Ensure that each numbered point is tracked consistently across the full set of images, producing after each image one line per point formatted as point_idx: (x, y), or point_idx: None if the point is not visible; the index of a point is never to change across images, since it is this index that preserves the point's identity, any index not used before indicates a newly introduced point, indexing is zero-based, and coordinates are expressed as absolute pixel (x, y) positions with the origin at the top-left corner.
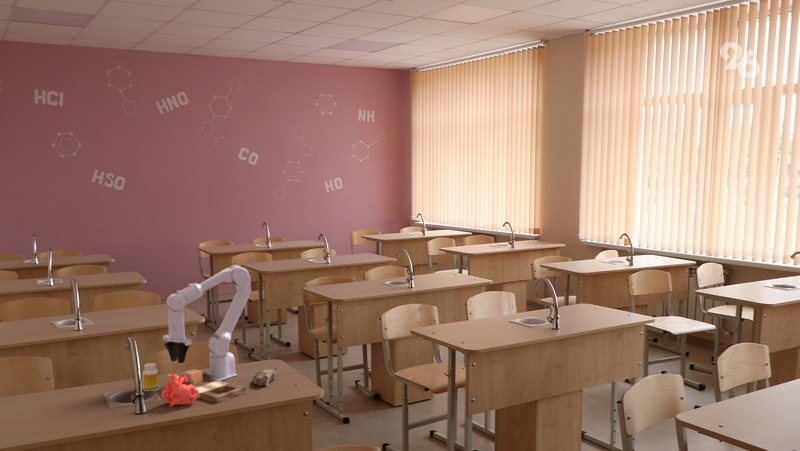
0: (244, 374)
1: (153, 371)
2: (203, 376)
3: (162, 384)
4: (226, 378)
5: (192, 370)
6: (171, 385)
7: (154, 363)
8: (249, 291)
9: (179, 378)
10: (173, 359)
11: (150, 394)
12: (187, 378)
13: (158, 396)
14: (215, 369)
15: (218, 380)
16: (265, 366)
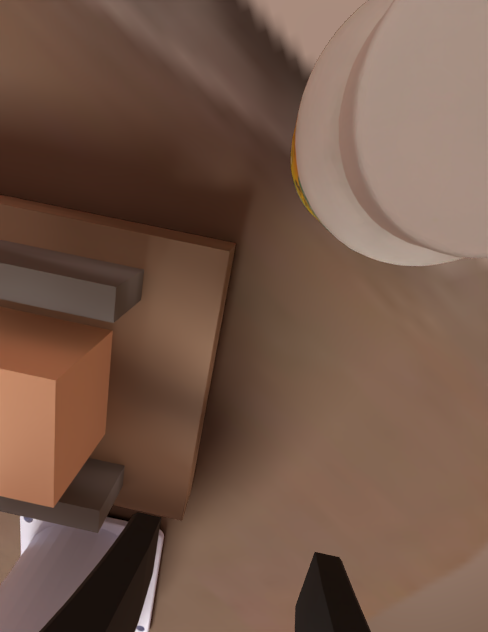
0: None
1: (324, 90)
2: None
3: (370, 328)
4: (23, 551)
5: (13, 461)
6: (157, 235)
7: (445, 230)
8: None
9: (37, 277)
10: (312, 592)
11: (268, 36)
12: (8, 336)
13: (143, 22)
14: (15, 592)
15: None
16: None
